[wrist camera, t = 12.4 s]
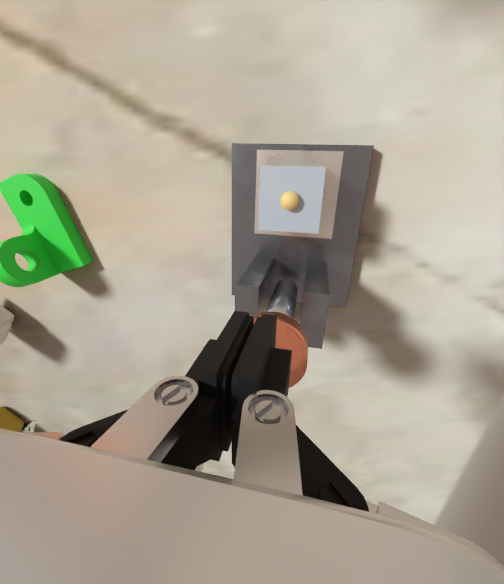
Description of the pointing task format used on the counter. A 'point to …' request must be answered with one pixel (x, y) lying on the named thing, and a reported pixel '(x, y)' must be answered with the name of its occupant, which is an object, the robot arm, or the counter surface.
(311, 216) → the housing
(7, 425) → the flower pot
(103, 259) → the counter surface
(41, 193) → the mechanical part
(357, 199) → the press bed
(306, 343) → the ram
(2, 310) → the grey blocky fitting
